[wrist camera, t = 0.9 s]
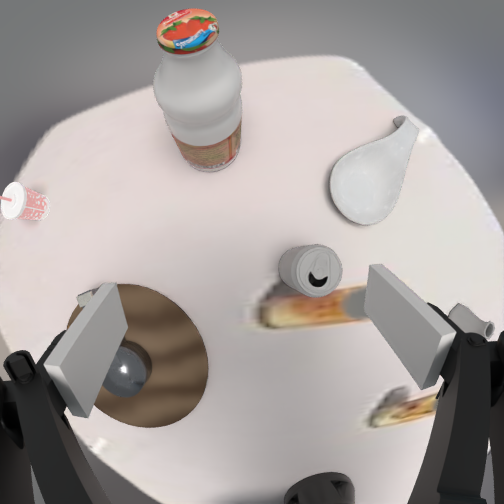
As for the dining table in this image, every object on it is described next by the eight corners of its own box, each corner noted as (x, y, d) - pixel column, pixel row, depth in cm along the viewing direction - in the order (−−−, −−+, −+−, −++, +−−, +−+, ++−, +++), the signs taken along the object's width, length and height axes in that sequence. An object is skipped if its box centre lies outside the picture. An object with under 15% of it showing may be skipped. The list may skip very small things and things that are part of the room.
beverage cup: (37, 187, 43) (-10, 170, 29) (58, 198, 43) (10, 182, 29) (26, 217, 43) (-23, 207, 29) (45, 229, 43) (-5, 222, 29)
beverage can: (273, 282, 45) (286, 291, 33) (284, 241, 45) (301, 237, 33) (311, 292, 46) (337, 304, 34) (322, 253, 46) (351, 252, 34)
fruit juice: (205, 185, 45) (166, 91, 17) (170, 143, 44) (109, 32, 17) (252, 149, 45) (273, 30, 17) (216, 110, 45) (202, -18, 17)
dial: (160, 378, 43) (151, 393, 37) (120, 389, 42) (108, 403, 37) (118, 280, 42) (103, 284, 37) (80, 296, 42) (63, 301, 36)
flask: (472, 316, 48) (504, 324, 38) (455, 344, 47) (486, 356, 37) (458, 296, 47) (491, 302, 37) (439, 326, 47) (472, 337, 37)
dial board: (232, 405, 45) (232, 408, 43) (108, 433, 43) (106, 436, 42) (170, 260, 44) (169, 260, 43) (48, 310, 43) (44, 311, 42)
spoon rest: (363, 240, 46) (383, 238, 39) (309, 194, 46) (322, 183, 39) (422, 147, 47) (443, 135, 40) (378, 105, 47) (395, 88, 40)
